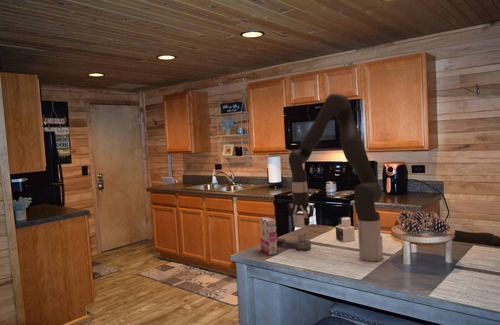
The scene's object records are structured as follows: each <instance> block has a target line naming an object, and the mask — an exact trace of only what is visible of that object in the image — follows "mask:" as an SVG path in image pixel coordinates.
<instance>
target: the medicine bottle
mask: <svg viewBox="0 0 500 325" xmlns="http://www.w3.org/2000/svg"><path fill="white" fill-rule="evenodd" d="M335 239H336V240H337V241H340V242H341V243H347V242H353V241H355V240H356V233H355V226H352V222H351V217H350V216H340V217H338V225H336V226H335Z"/></svg>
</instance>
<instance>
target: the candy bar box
mask: <svg viewBox="0 0 500 325" xmlns="http://www.w3.org/2000/svg"><path fill="white" fill-rule="evenodd" d="M277 229H278V228H277V220H275V219H273V218H271V217H269V216H265V217H259V231H260V232H259V234H260V250H261V251H262V252H264V253H265V254H266V255H268V256H274V255H278V254H279V252H278V251H279V249H278V247H277V238H278V231H277Z"/></svg>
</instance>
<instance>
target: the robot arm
mask: <svg viewBox="0 0 500 325" xmlns="http://www.w3.org/2000/svg"><path fill="white" fill-rule="evenodd" d="M333 117H336V120H337V122H338V125H339V130H340V136H339V138H340V146H341V149H342V152H343V155H344V158H345V160H346V161H347V162H348V163H349V164H350V166H351V167H352V168H353V171H355V172H356V174H357V177H358V179H359V182H360V184H357V185H356V187H355V188H354V194H353V199H354V210H355V215H356V216H357V230H358V231H357V232H358V234H357V235H358V253H359V254H358V255H359V259H360V260H361V261H364V262H365V261H366V262H380V261H381V260H382V259H383V258H384V251H383V248H384V247H383V236H382V235H381V216H380V215H381V214H380V213H379V212H378V211H376V209H375V208H376V206H375V203H377V202H379V200H381V198H382V192H383V191H382V188H381V185H380V183H379V180H378V179H377V176H376V175H375V172H374V170H373V168H372V166H371V163H370V160H369V157H368V155H367V154H368V153H367V152H366V148H365V145H364V143H363V139H362V137H361V134H360V131H359V129H358V126H357V124H356V121H355V118H354V114H353V110H352V105H351V102H350V99H349V98H348V97H347V96H346V95H344V94H340V93H334V92H333V93H330V94H329V95H328V96H327V98H326V99H325V100H324V103H323V105H322V106H321V109H320V110H319V112H318V114H317V116H316V118H315V120H314V122H313V123H312V125H311V126H310V128H309V130H308V131H307V132H306V133H305V135H304V136H303V138H302V139H301V141H300V146H299V148H298V149H297V150H296V149H295V150H292V151H291V152H290V153H289V154H288V164H289V168H290V171H291V180H292V183H291V190H292V191H291V194H292V196H291V197H292V202H291V203H287V205H286V206H287V209H288V215H289V217H293V215H294V214H298V213H303V214H304V215H305V217H306V218H305V221H306V226H307V227H309V226H310V222H311V220H310V218H312V217H313V216H314V211H315V204H310V203H309V190H308V180H307V179H308V178H307V171H306V169H304V168H303V165H304V164H305V163H306V162H307V161H308V160H309V158H310V157H311V155H312V153H313V150H314V149H315V148H316V146H317V145H318V144H319V142H320V141H321V139H322V138H323V136H324V133H325V129H326V127H327V126H328V123H329V122H330V121H331V120H332V119H333ZM293 208H294V209H293ZM292 221H293V224H294V219H293V218H292ZM308 225H309V226H308Z"/></svg>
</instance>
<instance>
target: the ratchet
mask: <svg viewBox="0 0 500 325" xmlns="http://www.w3.org/2000/svg"><path fill="white" fill-rule="evenodd" d="M306 235H307V234H306V232H300V233H298V239H296V240H287V239H286V238H278V237H277V248H285V249H286V248H287V249H292V250H293V249H294V250H295V251H297V252H298V251H299V252H307V251H310V250H312V241H311V240H309V239H307V236H306Z"/></svg>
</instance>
